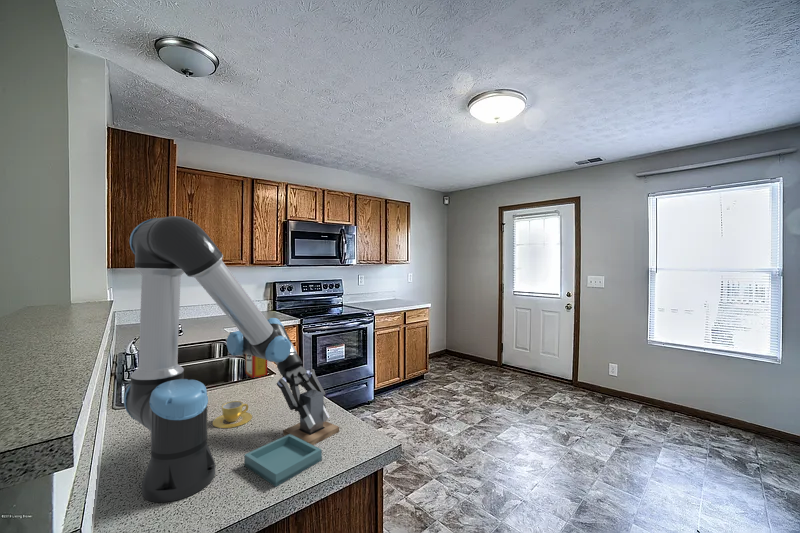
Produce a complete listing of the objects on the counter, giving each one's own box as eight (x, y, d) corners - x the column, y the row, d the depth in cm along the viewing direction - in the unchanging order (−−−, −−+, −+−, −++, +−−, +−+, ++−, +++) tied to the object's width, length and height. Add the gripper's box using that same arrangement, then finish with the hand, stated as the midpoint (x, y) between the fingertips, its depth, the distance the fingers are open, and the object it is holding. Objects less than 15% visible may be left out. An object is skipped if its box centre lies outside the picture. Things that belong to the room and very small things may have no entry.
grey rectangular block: (310, 437, 108) (310, 397, 107) (299, 432, 111) (300, 393, 110) (323, 431, 112) (323, 393, 111) (312, 426, 115) (313, 389, 114)
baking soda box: (267, 375, 164) (267, 341, 164) (253, 378, 160) (252, 343, 159) (259, 370, 171) (259, 337, 171) (245, 373, 167) (245, 339, 166)
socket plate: (308, 447, 103) (308, 442, 103) (283, 434, 110) (283, 430, 110) (339, 431, 112) (339, 426, 112) (314, 420, 119) (314, 416, 119)
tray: (276, 486, 85) (276, 474, 85) (244, 465, 93) (244, 454, 93) (321, 460, 96) (321, 449, 96) (289, 443, 105) (289, 433, 105)
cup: (217, 433, 111) (217, 415, 111) (209, 419, 120) (208, 403, 120) (256, 422, 119) (256, 406, 119) (246, 410, 128) (246, 395, 128)
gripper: (304, 360, 127) (335, 418, 118) (257, 372, 113) (289, 440, 103) (314, 347, 124) (347, 407, 114) (267, 359, 109) (301, 427, 100)
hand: (319, 422), depth 109 cm, fingers closed on grey rectangular block, 5 cm apart
